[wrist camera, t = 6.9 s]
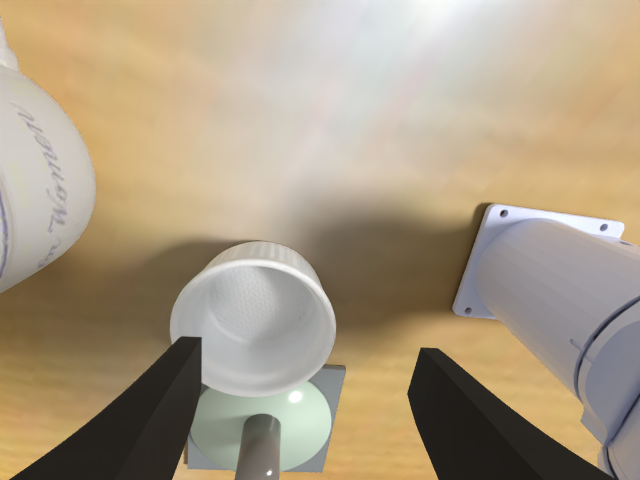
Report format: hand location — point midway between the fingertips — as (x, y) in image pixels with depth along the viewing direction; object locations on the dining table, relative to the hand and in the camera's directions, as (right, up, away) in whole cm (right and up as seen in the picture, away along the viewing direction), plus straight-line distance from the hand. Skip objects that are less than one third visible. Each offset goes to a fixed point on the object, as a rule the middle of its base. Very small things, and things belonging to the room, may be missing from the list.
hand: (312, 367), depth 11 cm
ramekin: (-4, +1, +11) cm, 12 cm away
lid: (-4, -10, +14) cm, 18 cm away
